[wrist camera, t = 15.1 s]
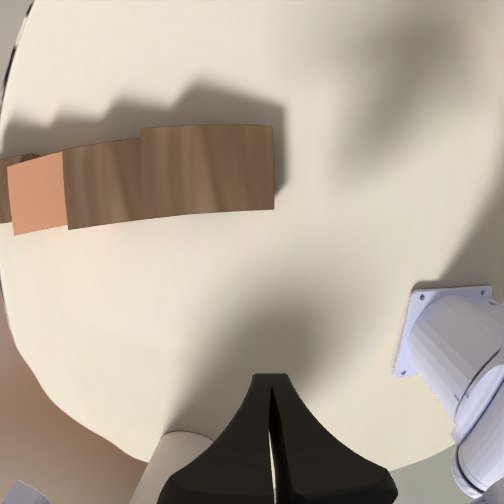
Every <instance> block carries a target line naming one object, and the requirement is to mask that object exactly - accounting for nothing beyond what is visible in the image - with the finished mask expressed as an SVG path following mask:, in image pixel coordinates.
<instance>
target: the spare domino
mask: <svg viewBox="0 0 504 504" xmlns="http://www.w3.org/2000/svg"><path fill="white" fill-rule="evenodd" d="M7 173H8V188H9V199H10V208H11V216H12V224H13V230H14V236H15V235H20V234H24V233H29V232H33V231H38V230H43V229H48V228H53V227H58V226H63V225H68V223H67V214H66V205H65V194H64V180H63V158H62V152H58V153H54V154H50V155H46V156H43V157H39V158H35V159H32V160H28V161H25V162H22V163H18V164H15V165H12V166H9V167H7Z"/></svg>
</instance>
